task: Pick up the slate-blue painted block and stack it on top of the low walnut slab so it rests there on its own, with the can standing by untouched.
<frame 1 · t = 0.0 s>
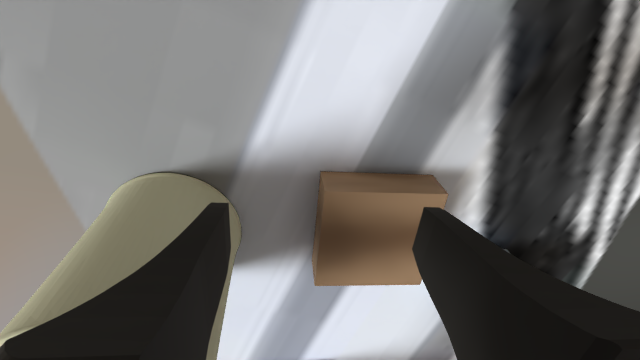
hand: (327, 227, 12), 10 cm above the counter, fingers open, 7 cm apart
slab: (367, 217, 25), on the counter
can: (176, 227, 24), on the counter
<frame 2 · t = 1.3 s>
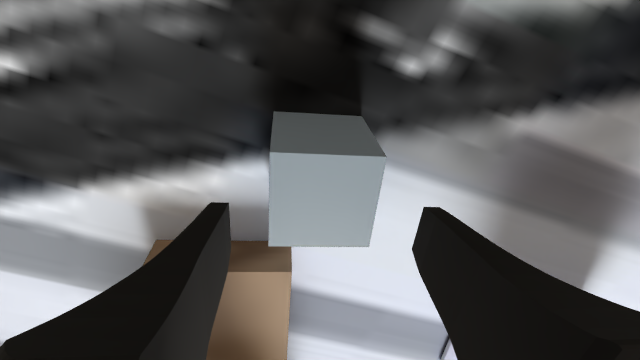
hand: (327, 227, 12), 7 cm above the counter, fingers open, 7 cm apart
block: (314, 153, 18), on the counter
slab: (229, 283, 23), on the counter
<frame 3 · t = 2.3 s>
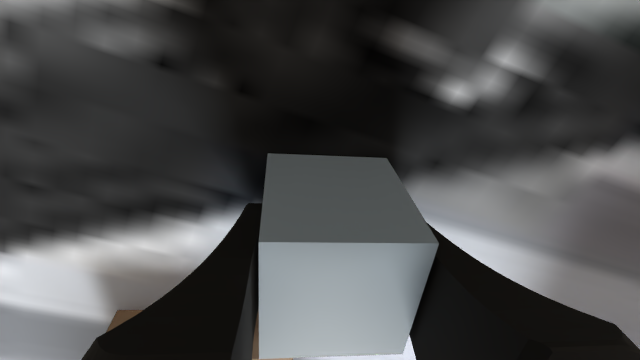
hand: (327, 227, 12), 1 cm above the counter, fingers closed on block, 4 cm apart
block: (323, 205, 14), on the counter, touching gripper
slab: (214, 353, 18), on the counter
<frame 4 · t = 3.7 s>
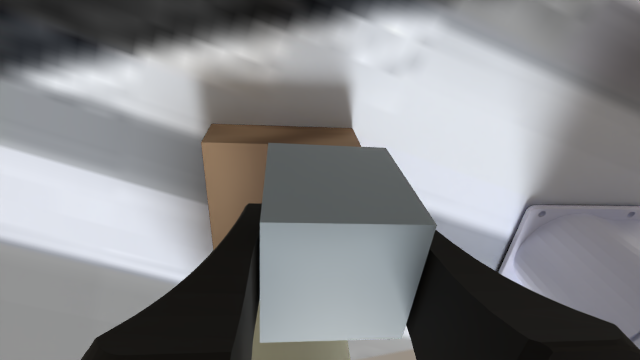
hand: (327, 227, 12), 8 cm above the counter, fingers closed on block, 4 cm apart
block: (322, 195, 14), point 7 cm above the counter, touching gripper
slab: (282, 183, 21), on the counter
can: (291, 329, 28), on the counter
when the fingers open (5 cm above the counter, at t = 5.1 s): block stays where it is, resting on slab.
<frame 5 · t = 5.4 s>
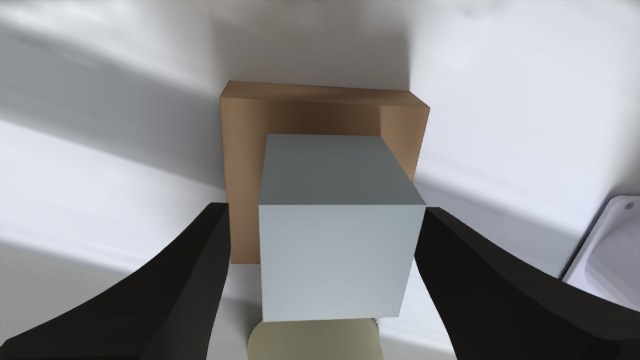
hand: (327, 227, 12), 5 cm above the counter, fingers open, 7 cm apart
block: (321, 184, 14), point 2 cm above the counter, touching slab
slab: (315, 162, 17), on the counter, touching block
can: (313, 341, 24), on the counter
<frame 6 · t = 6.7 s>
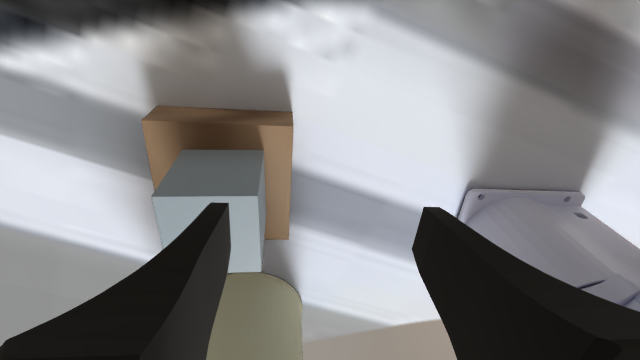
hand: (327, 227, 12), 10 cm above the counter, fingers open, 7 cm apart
block: (227, 184, 20), point 3 cm above the counter, touching slab
slab: (230, 164, 23), on the counter, touching block
can: (249, 308, 29), on the counter
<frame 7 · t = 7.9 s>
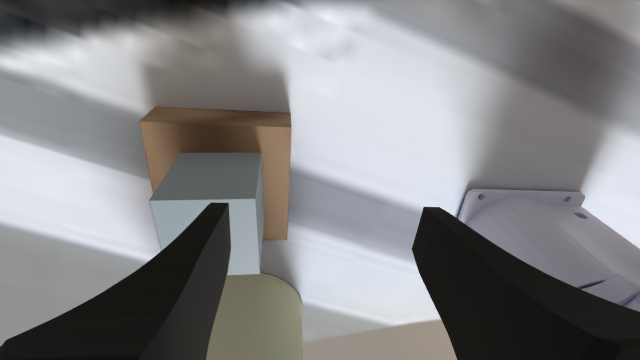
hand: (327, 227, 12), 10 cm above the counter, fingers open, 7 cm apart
block: (225, 187, 20), point 3 cm above the counter, touching slab
slab: (229, 165, 23), on the counter, touching block
can: (249, 308, 29), on the counter
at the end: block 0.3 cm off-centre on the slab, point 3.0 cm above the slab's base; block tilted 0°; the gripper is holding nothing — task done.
